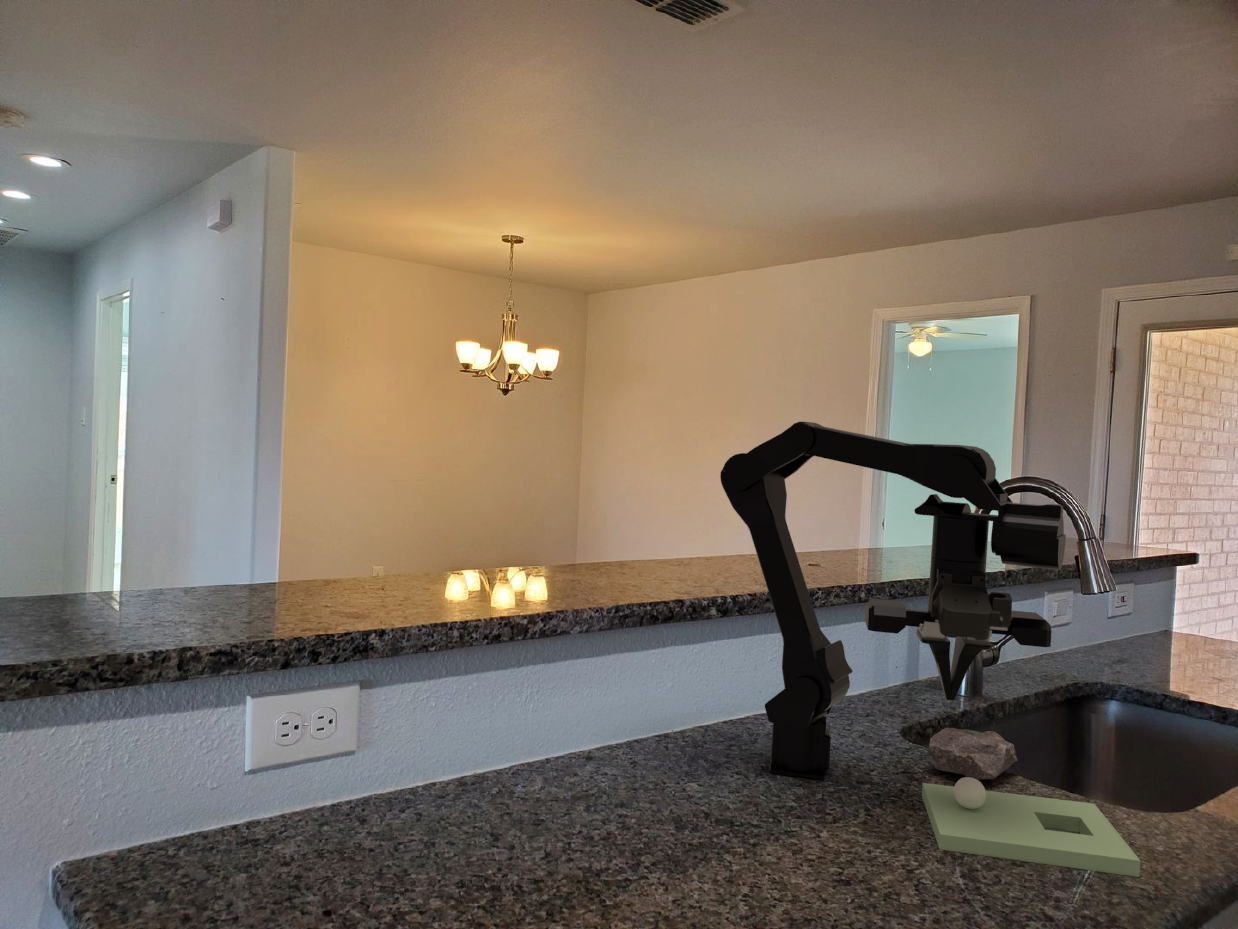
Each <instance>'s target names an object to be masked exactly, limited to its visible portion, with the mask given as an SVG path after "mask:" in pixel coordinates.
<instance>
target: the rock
mask: <svg viewBox="0 0 1238 929" xmlns="http://www.w3.org/2000/svg"><path fill="white" fill-rule="evenodd" d="M928 754H929V756H930V759H931V762H932V766H934V768H935V769H936V770H937V771H942V772H947V773H955V774H961V775H963V776H965V777H971V778H975V779H977V780H995V779H996V778H997V777H998V776H1000V775H1001V774H1002V773H1003V772H1004V771H1006V770H1008V769H1009V768H1010V767H1011V766H1012V764H1013V763H1016V762H1018V761H1019V760H1018V758H1017V755H1016V749H1015V744H1013V743H1011V742H1008V740H1007V741H1006V740H1005V738H1003V737H1002V736H1001V735H1000V734H999V733H997V732H995V731H994V730H993V731H990V730H988V731H983V732H980V731H976V730H972V729H959V728H955V727H951V728H950V727H946V728H942V729H941V731H938V732H937V733H936V734H934V735H932V736H931V737H930V740H929V746H928Z"/></svg>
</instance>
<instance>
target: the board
mask: <svg viewBox="0 0 1238 929" xmlns="http://www.w3.org/2000/svg"><path fill="white" fill-rule="evenodd" d="M921 785H922V786H921V787H922V788H921V798H922V800H923V805H924V807H925V809H926V812H927V816H928V819H929V822H930V825H931V828H932V831H933V833H934V837H935V840H936V843H937V846H938V849H939V850H943V851H950V852H958V853H965V854H970V855H980V856H985V857H994V858H1000V859H1005V860H1015V861H1022V862H1030V863H1036V864H1043V865H1048V866H1049V865H1050V866H1057V867H1064V868H1072V869H1079V870H1086V871H1091V872H1092V871H1094V872H1100V873H1108V874H1114V875H1115V874H1116V875H1122V876H1129V877H1137V878H1140V873H1141V859H1140V858H1139V857H1138V856H1137V854H1136V853H1135V852H1134V850H1132V848H1131V847H1130V846H1129V845H1128V843H1127V842H1126V841H1125V839H1123V837H1122V836H1121V835H1120V834H1119V832H1118V831H1117V830H1116V828H1115V827H1114V826H1113V825H1112V823H1111V822H1110V821H1109V819H1107V817H1106V816H1105V815H1104V814H1103V813H1102V812H1101V810H1100V809H1099V808H1098V806H1097V805H1096V804H1095V803H1090V802H1082V801H1074V800H1065V799H1057V798H1051V797H1044V796H1043V797H1041V796H1034V795H1026V794H1018V793H1010V792H1009V793H1008V792H1000V791H991V790H985V791H986V799H985V802H984V803H983V805H982V806H980V807H979V808H976V809H967V808H965V807H963V806H961V805H960V804H959V803H958V802H957V800H956V799H955V796H954V786H950V785H943V784H936V783H926V782H922V784H921Z"/></svg>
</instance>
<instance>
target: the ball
mask: <svg viewBox="0 0 1238 929" xmlns="http://www.w3.org/2000/svg"><path fill="white" fill-rule="evenodd" d="M953 787H954V796H955V799H956V800H957V802H958V803H959V804H960V805H961V806H963V807H965V808H967V809H976V808H979V807H980V806H982V805H983V803H984V802H985V799H986V791H987V790H986V788H985V786H984V785H983V783H982V782H981V781H980V780H979V779H976V778H973V777H970V776H965V777H962V778H960V779H958V780H957V782H956V783H955V784H954V786H953Z"/></svg>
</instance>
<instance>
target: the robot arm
mask: <svg viewBox="0 0 1238 929" xmlns="http://www.w3.org/2000/svg"><path fill="white" fill-rule="evenodd" d="M813 457H817V458H823V459H827V460H830V461H831V460H832V461H834V462H835V461H836V462H840V463H845V464H848V465H849V464H850V465H855V466H858V467H864V468H867V469H872V470H876V471H881V472H885V473H886V472H887V473H891V474H895V475H898V476H901V477H903V478H906V479H909V480H911V481H912V482H915V483H917V484H918V485H921V486H923V487H925V488H928V489H930V490H932V491H935V492H938V493H939V494H942V495H944V496H947V497H949V498H954V499H955V498H956V499H964V500H967V503H966V502H965V503H964V502H955V501H954V502H952V501H944V500H942V499H941V498H940V496H939V494H937V493H934V494H929V495H928V496H927V499H926V500H925V501H924V502H923V503H921V504H920V505H919V506H917V507H915V509H914V510H913V511H914V513H915V515H918V516H919V515H920V516H928V517H930V516H931V517H933V520H932V521H933V523H932V538H931V550H930V551H931V552H930V553H931V554H930V555H931V556H930V569H929V570H930V572H929V582H928V583H929V584H928V585H929V586H928V587H929V588H928V601H927V602H928V603H927V610H920V609H910V608H906V606H905V604H904V602H903V601H901V600H890V599H881V598H880V599H879V598H871V599H870V600H868V601H867V602H866V605H865V616H864V617H865V618H864V622H865V626H866V629H867V631H870V632H877V633H887V634H899V633H900V632H901V631H903V630H905V628H906V627H914V628H915V627H917V629H916V636H917V637H918V640H919V641H920V642H921V643H923V644H925V645H927V644H928V646H929V648H930V650H931V654H932V656H933V658H934V662H935V664H936V668H937V672H938V676H939V679H940V684H941V687H942V691H943V694H944V698H945V699H946V701H955V699H956V696H957V694H958V692H959V691H960V688H961V686H962V683H963V681H964V679H965V676H966V674H967V673H968V671H969V669H970V667H971V665H972V663H973V661H974V660H975V659H976V657H977V656H978V655H980V653H981V652H982V651H983V650H992V649H993V647H994V645H993V644H992V642H990V641H991V640H990V639H991V638H992V635H993V634H994V635H1004V636H1011V637H1012V638H1013V639H1014V640H1015V641H1016V642H1017V643H1018V644H1019V645H1020V646H1028V647H1040V648H1051V643H1052V634H1053V633H1052V631H1053V630H1052V626H1051V624H1050V623H1049V622H1048V621H1047V620H1046V618H1044V617H1043V616H1041V615H1039V614H1038V613H1037V612H1033V611H1032V612H1031V611H1022V610H1021V611H1018V610H1013V609H1012V608H1013V598H1012V596H1011V593H1009V592H997V591H992V592H990V593H988V590H987V587H986V586H987V583H986V582H987V579H986V578H987V557H988V556H987V555H988V544H989V542H988V541H989V526H990V522H992V526H991V533H990V534H991V536H990V547H991V553H992V554H995V556H997V557H1000V560H1001V561H1000V562H1001V564H1003V565H1011V566H1019V567H1029V568H1030V567H1031V568H1037V569H1045V570H1046V569H1048V570H1055V571H1056V570H1057V571H1061V569H1062V567H1063V563H1064V557H1065V556H1064V555H1065V549H1066V536H1067V535H1066V533H1064V532H1065V528H1064V527H1065V526H1064V525H1065V524H1064V521H1065V520H1064V506H1063V505H1062V504H1055V503H1049V504H1048V503H1047V504H1030V503H1016V502H1013V501H1012V499H1011V497H1010V496H1009V495H1008V494H1009V493H1007V492H1006V491H1005V489H1004V488H1003V486H1002V485H1001V484H1000V482H999V481H998V479H997V478H996V476H997V475H996V473H997V468H996V464H995V460H994V459H993V458H992V456H991V455H990V454H989V452H987V451H986V450H984V449H983V448H980V447H978V446H972V445H963V444H941V443H940V444H939V443H937V444H935V443H933V444H932V443H931V444H930V443H909V442H902V441H896V440H893V439H888V438H883V437H882V438H881V437H877V436H872V435H867V434H862V433H857V432H852V431H848V430H842V429H837V428H833V427H827V426H823V425H821V424H819V423H817V422H813V421H812V422H811V421H797V422H795V423H793V424H792V425H790V426H789V427H788V428H787V429H785V430H784V431H783V432H781V433H779V434H777V435H776V436H774V437H772V438H770V439H768V440H766V441H764V442H762V443H761V444H758V445H757V446H755V447H753V448H752V449H750V450H748V452H742V453H737V454H734V455H732V456H730V457H729V458H728V459H727V460H726V462H725V463H724V464H723V467H722V470H721V471H720V475H719V478H720V484H721V487H722V488H723V490H724V492H725V495H726V496H727V499H728V500H729V503H730V505H731V506H732V509H733V510H734V511H735V512H736V514H737V515H738V516H739V517H740V519H741V520H742V521H743V523H744V524H745V525H746V526H747V529H748V531H749V533H750V536H751V539H752V542H753V546H754V549H755V552H756V555H757V560H758V562H759V566H760V569H761V572H762V576H763V578H764V581H765V585H766V589H767V591H768V594H769V597H770V601H771V605H772V607H773V611H774V613H775V617H776V620H777V623H778V626H779V627H778V628H779V631H780V633H781V636H782V642H783V646H782V656H781V658H782V659H781V661H782V662H781V670H782V671H781V673H782V678H783V684H784V685H783V686H784V689H782V690H781V691H779V692H778V693H777V694H776V695H774V696H773V697H772V698H771V699H769V700H768V701H766V703H765V704H764V709H765V714H766V715H767V720H768V722H769V723H772V733H771V738H772V739H771V749H770V750H771V752H770V760H769V766H768V767H769V768H768V773H770V774H775V775H780V776H781V775H782V776H790V777H798V778H799V777H800V778H806V779H813V780H822V781H823V780H826V771H829V769H830V762H831V760H830V757H831V741H832V735H831V730H830V729H827V717H826V716H827V715H829V714H830V713H831V711H832V710H833V708H834V705H836V704H838V703H839V702H841V701H842V700H843V699H844V698H845V697H846V695H847V694H848V691H849V689H850V684H851V681H850V677H849V675H851V674H852V673H853V671H854V670H853V669H852V667H851V666H850V665H849V663H848V661H847V659H846V655H845V648H844V644H843V642H842V640H836V641H834V642H831V641H830V640H829V638H828V637H826V635H825V633H823V631H822V629H821V626H820V625H819V621H818V619H817V616H816V612H815V609H814V606H813V603H812V599H811V595H810V592H809V590H808V586H807V583H806V580H805V577H804V574H803V571H802V568H801V564H800V561H799V558H798V555H797V552H796V548H795V546H794V542H793V539H792V536H791V534H790V533H791V532H790V530H789V526H788V524H787V519H786V511H787V499H788V498H787V496H788V495H787V494H788V493H787V488H786V479H788V478H789V477H790V476H792V475H793V474H795V473H796V472H797V471H799V470H800V469H801V468H802V467H803V466H804V465H805V464H806V463H808V461H810V459H812V458H813ZM968 502H969V503H970V504H971V505H973V506H974V507H975V508H977V509H979V510H982V511H983V510H984V511H985V510H986V511H997V514H987V513H978V512H972V509H971V505H970V504H969V503H968ZM949 638H954V639H955V640H954V648H953V654H952V662H951V661H950V660H951V658H950V657H951V656H950V653H951V652H950V650H951V641H950V640H949Z"/></svg>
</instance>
